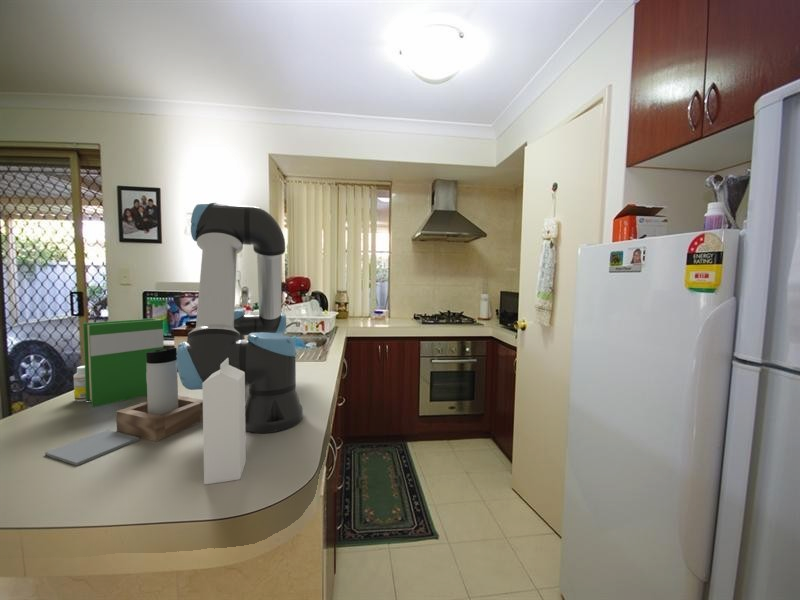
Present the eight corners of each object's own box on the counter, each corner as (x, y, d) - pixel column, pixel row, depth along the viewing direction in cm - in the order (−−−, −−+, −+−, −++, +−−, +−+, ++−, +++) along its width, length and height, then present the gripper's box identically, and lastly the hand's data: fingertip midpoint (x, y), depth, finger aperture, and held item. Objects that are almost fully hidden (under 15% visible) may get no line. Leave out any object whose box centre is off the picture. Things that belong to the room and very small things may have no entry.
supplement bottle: (92, 394, 101) (90, 363, 101) (104, 396, 100) (103, 364, 99) (69, 400, 96) (68, 367, 95) (82, 403, 94) (80, 369, 94)
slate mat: (138, 440, 73) (138, 437, 73) (76, 465, 63) (76, 462, 63) (107, 432, 77) (107, 429, 76) (45, 455, 66) (44, 452, 66)
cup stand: (207, 418, 85) (207, 400, 84) (156, 441, 72) (155, 420, 72) (170, 411, 89) (170, 393, 89) (116, 431, 77) (116, 411, 77)
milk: (204, 485, 57) (200, 366, 56) (213, 466, 63) (210, 358, 62) (240, 479, 59) (238, 363, 58) (246, 461, 65) (244, 356, 63)
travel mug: (163, 431, 77) (161, 351, 76) (141, 428, 78) (139, 349, 77) (185, 420, 83) (184, 346, 82) (164, 418, 85) (163, 344, 84)
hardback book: (92, 407, 91) (89, 325, 90) (86, 401, 95) (83, 323, 94) (164, 390, 106) (162, 319, 104) (156, 386, 110) (154, 318, 109)
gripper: (255, 370, 106) (220, 392, 85) (181, 369, 106) (126, 391, 85) (255, 348, 106) (219, 364, 84) (180, 347, 105) (126, 363, 84)
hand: (173, 377), depth 84 cm, fingers open, 13 cm apart
